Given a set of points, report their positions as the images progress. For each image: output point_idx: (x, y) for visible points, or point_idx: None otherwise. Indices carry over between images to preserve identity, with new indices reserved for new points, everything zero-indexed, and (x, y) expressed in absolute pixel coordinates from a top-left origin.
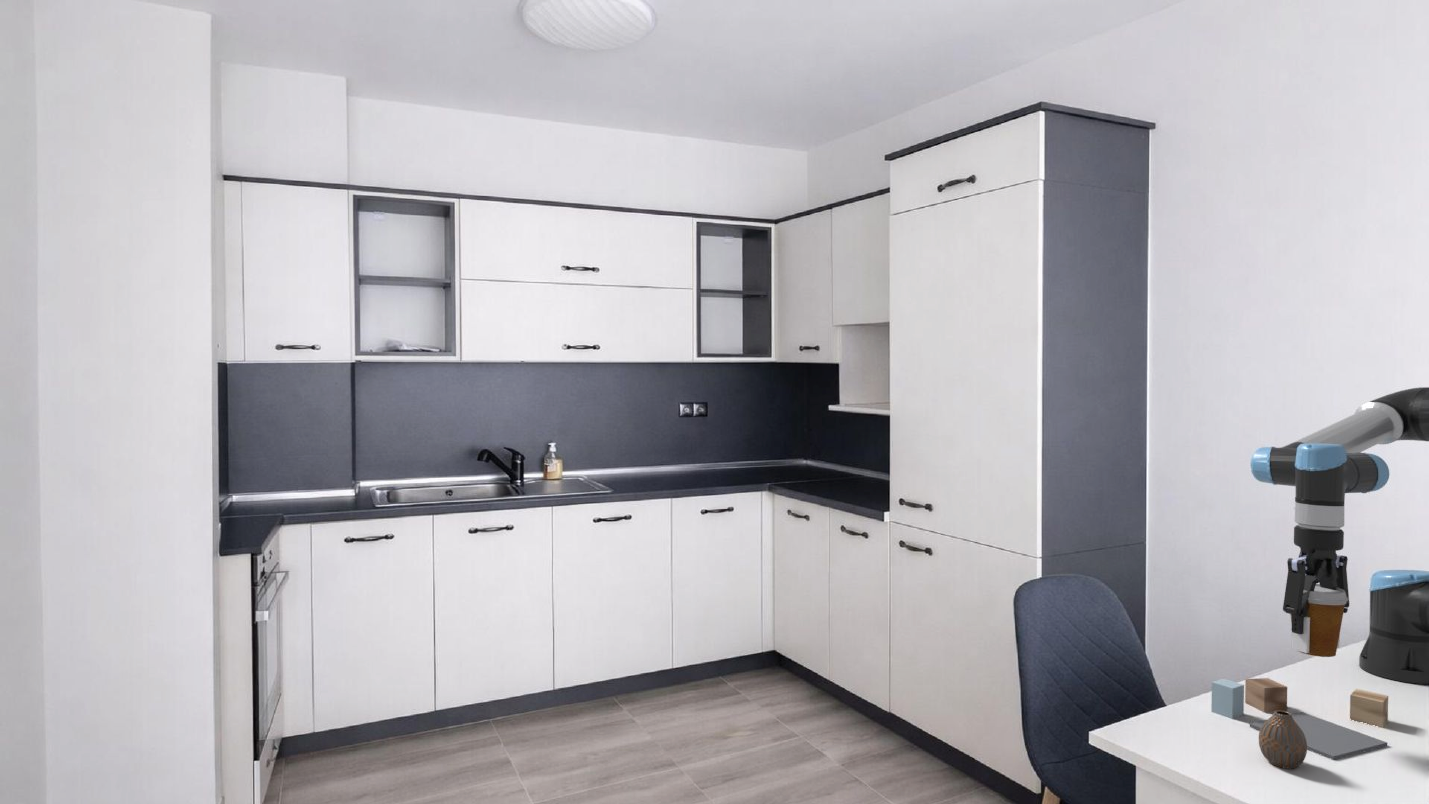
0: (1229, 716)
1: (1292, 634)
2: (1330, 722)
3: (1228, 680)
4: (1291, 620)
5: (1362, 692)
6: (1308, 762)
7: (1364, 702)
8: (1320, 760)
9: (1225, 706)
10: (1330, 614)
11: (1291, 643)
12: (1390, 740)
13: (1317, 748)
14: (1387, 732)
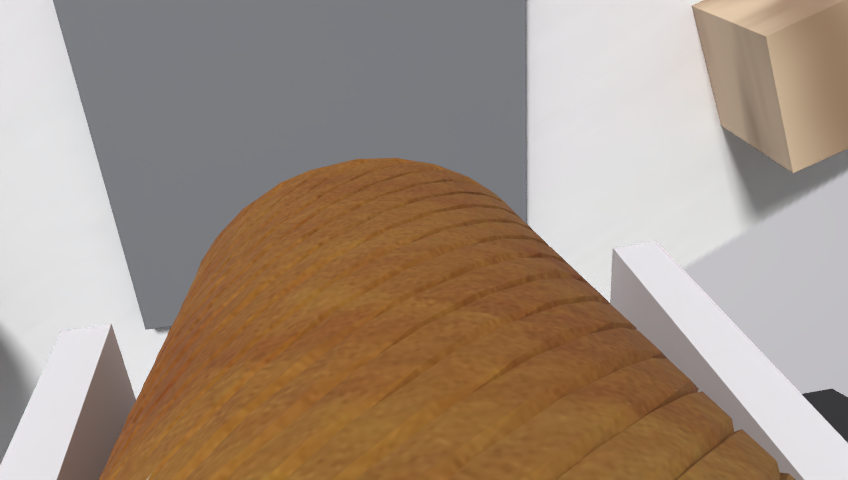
0: None
1: (10, 463)
2: (521, 39)
3: None
4: (122, 451)
5: None
6: (7, 316)
7: (765, 91)
8: (84, 312)
9: None
10: None
11: (41, 373)
12: (598, 232)
13: (146, 256)
14: (683, 168)
